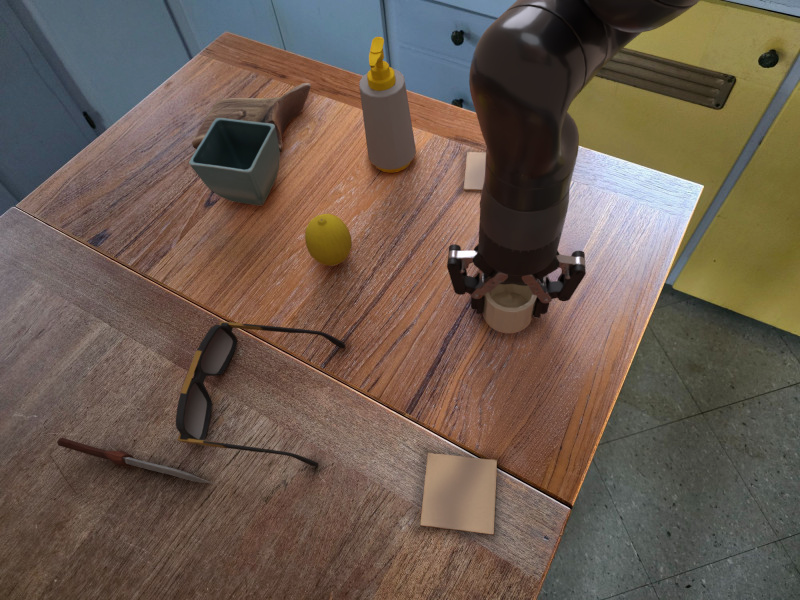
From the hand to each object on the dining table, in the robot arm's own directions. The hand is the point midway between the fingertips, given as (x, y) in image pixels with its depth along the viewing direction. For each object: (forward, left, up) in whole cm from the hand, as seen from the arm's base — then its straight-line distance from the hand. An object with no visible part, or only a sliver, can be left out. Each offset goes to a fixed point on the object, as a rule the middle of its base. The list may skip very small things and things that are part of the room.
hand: (508, 308), depth 64 cm
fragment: (+39, -30, -1) cm, 49 cm away
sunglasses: (+26, +13, -1) cm, 29 cm away
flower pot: (+36, -17, -1) cm, 40 cm away
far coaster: (+3, -22, -1) cm, 22 cm away
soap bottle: (+17, -24, -1) cm, 29 cm away
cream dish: (0, 0, -1) cm, 1 cm away
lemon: (+22, -6, -1) cm, 23 cm away
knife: (+38, +22, -1) cm, 44 cm away
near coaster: (+4, +21, -1) cm, 21 cm away
